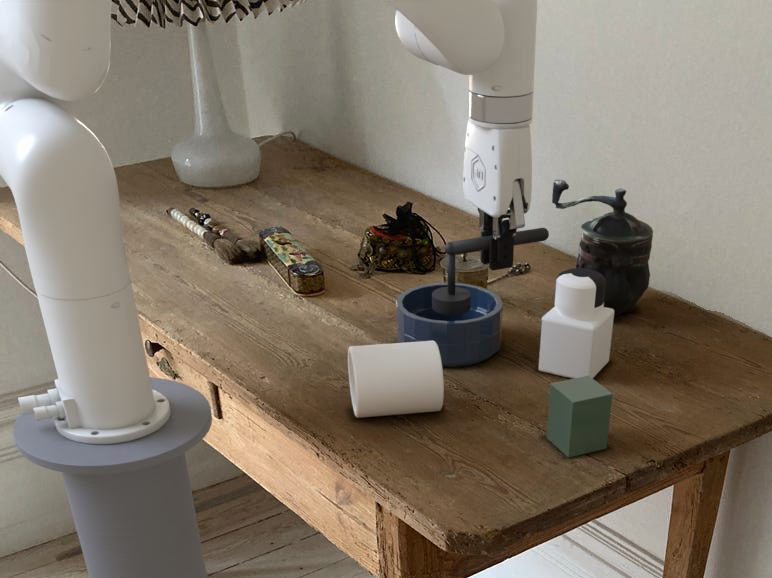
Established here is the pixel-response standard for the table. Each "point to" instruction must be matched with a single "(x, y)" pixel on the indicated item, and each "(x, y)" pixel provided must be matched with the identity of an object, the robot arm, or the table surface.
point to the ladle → (454, 297)
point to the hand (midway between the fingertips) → (496, 264)
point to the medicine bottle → (576, 326)
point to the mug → (395, 378)
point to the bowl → (452, 324)
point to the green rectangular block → (578, 416)
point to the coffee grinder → (614, 249)
